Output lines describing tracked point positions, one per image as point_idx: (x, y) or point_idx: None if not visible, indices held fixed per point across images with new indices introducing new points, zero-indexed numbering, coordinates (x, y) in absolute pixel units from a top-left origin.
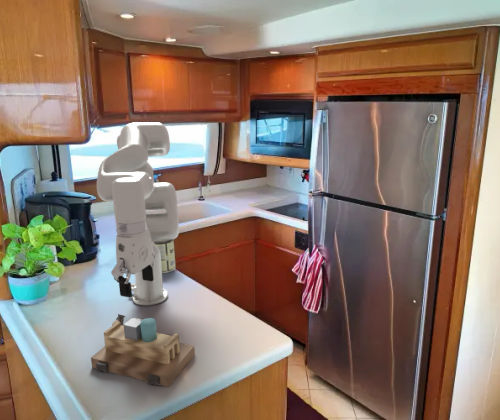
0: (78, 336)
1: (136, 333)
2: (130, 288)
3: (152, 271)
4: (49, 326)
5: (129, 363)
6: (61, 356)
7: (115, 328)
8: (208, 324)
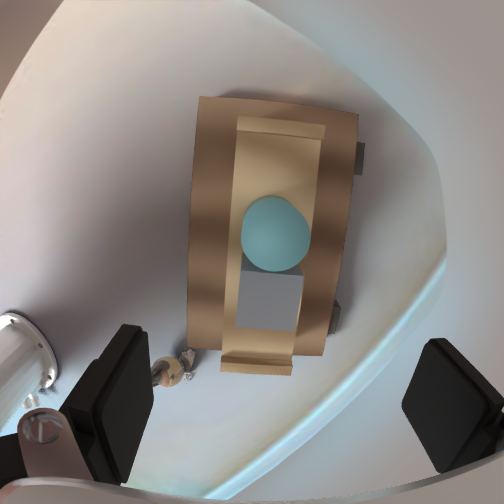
0: (216, 424)
1: (298, 267)
2: (473, 373)
3: (94, 376)
4: (205, 472)
5: (329, 248)
6: (291, 414)
7: (248, 359)
8: (59, 141)
